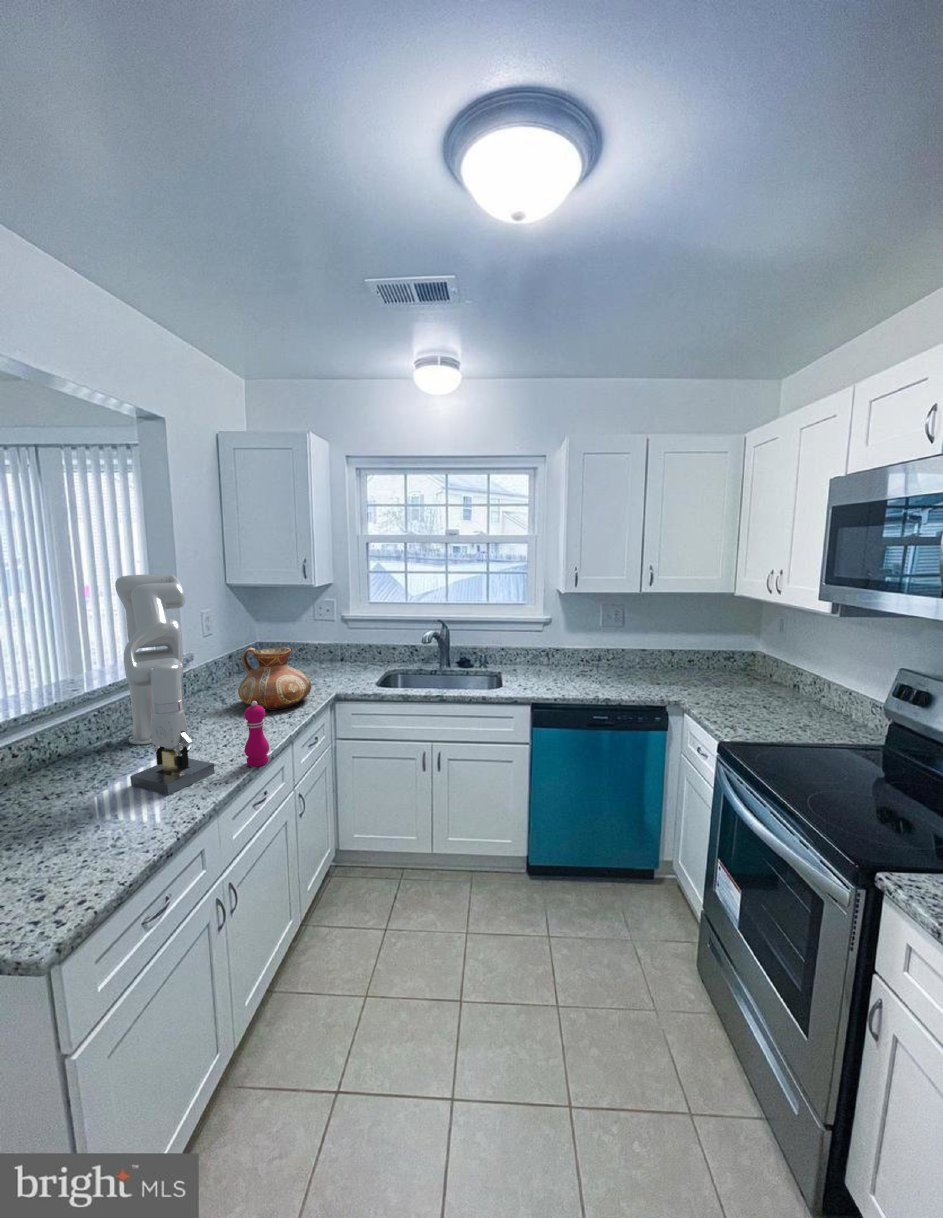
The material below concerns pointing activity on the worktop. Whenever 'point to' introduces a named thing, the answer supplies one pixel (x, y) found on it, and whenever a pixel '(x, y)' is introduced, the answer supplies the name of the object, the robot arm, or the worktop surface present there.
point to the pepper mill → (256, 736)
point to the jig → (171, 777)
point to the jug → (273, 680)
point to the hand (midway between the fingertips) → (172, 764)
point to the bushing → (170, 761)
